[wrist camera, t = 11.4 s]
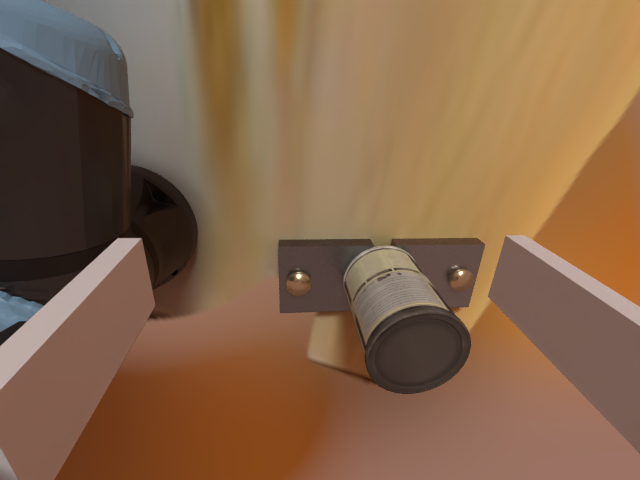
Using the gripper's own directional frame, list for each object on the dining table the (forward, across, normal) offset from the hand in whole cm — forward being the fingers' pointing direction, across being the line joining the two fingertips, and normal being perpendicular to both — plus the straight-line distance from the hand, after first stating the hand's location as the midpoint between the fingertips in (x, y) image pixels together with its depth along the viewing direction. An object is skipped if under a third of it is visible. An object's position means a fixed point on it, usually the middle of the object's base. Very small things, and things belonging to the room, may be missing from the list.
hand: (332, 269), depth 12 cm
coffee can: (+27, +11, -17) cm, 34 cm away
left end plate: (+29, +4, -17) cm, 34 cm away
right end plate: (+29, +18, -17) cm, 38 cm away
